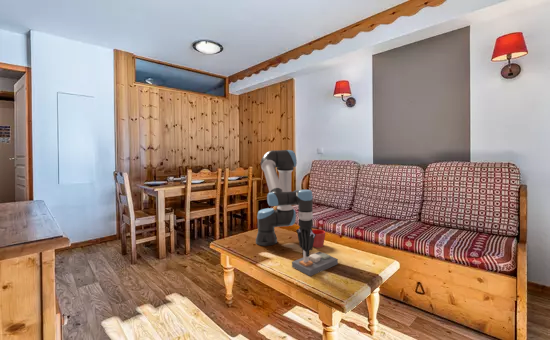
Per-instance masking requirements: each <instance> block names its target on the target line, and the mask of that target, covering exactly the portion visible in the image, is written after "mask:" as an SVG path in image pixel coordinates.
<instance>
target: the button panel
mask: <svg viewBox="0 0 550 340" xmlns="http://www.w3.org/2000/svg"><path fill="white" fill-rule="evenodd" d="M321 253H323V252H321V251H317V252H315V253H313V254H321ZM302 260H303V257H301V258H298V259H296V260H293V261H291V268H294V269H296V271H297V270H298V271H299V272H302V273H303V274H305V275H307V276H309V277H311V276H312V277H313V276H314V275H316V274H319V273H321V272H323V271H326V270H329V269H330V268H332V267H335V266H337V265H338V264H339V259H338V258H336V257H334V256H331V255H330V257H329V258H327V259H322V258H320V261H319V262H316V263H314V262H313V264H312V265H309V266H307V267H306V266H304V265H301V264H299V262H300V261H302ZM309 261H310V258H309ZM311 262H312V261H311Z"/></svg>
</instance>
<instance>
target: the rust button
mask: <svg viewBox="0 0 550 340" xmlns="http://www.w3.org/2000/svg"><path fill="white" fill-rule="evenodd" d="M299 264H301V265H304V266H306V267H307V266H309V265H312V264H313V262H311V261H309V262H306V263H305V262H303V260H302V261H300V262H299Z"/></svg>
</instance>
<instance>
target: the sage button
mask: <svg viewBox="0 0 550 340" xmlns="http://www.w3.org/2000/svg"><path fill="white" fill-rule="evenodd" d="M318 255H320V256H322V259H327V258H329V257H330V256H331V255H330V254H328V253H325V252H322V253H321V254H318Z"/></svg>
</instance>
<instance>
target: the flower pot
mask: <svg viewBox="0 0 550 340" xmlns="http://www.w3.org/2000/svg"><path fill="white" fill-rule="evenodd" d="M312 232H313V233H314V234H316V236H315V238H314V243H313V248H316V249H317V248H319V249H320V248H323V247H324V243H325V238H326V231H325V230H323V229H312Z"/></svg>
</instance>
